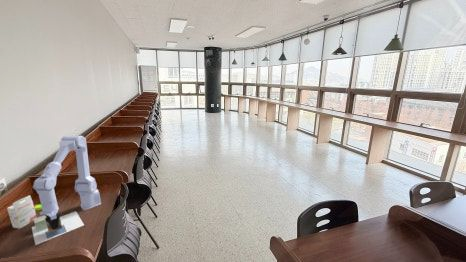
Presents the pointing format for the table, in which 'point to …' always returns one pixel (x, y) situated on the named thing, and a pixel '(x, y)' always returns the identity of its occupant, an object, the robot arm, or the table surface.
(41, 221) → the sage block
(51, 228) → the walnut block
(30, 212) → the ink cartridge box
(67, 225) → the blueprint board
